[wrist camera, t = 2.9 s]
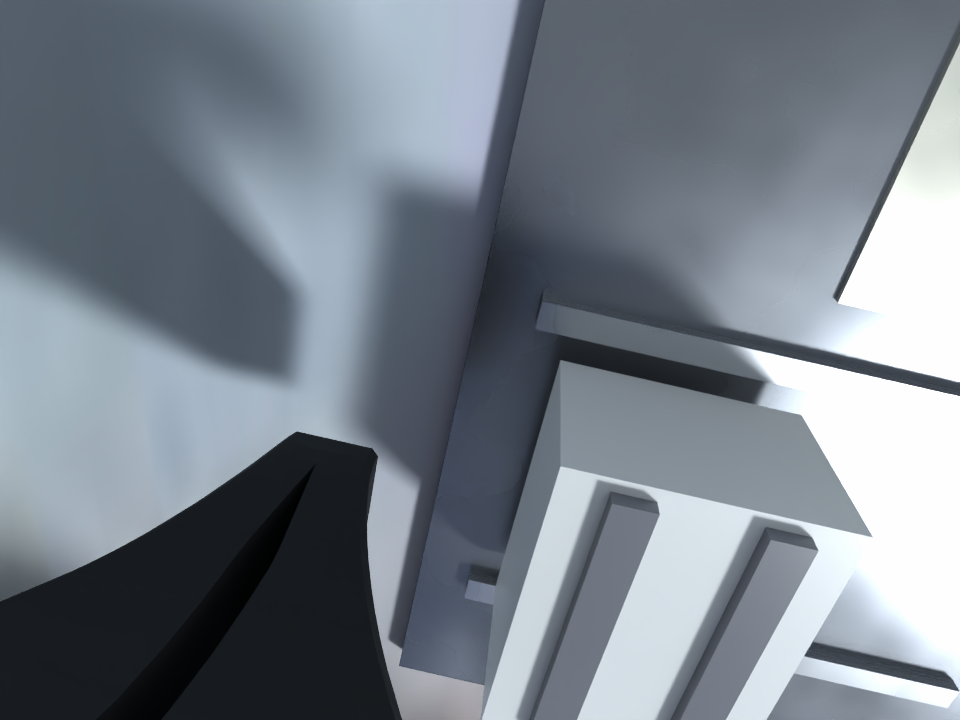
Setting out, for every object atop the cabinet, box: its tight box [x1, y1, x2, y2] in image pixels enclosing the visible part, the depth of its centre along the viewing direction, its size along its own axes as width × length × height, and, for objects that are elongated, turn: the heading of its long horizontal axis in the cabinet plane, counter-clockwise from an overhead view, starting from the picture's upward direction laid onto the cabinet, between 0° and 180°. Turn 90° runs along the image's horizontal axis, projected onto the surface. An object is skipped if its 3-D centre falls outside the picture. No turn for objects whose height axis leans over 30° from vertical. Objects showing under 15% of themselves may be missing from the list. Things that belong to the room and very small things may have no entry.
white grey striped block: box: [481, 360, 873, 720], centre depth 11 cm, size 5×4×3 cm
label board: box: [399, 0, 960, 720], centre depth 12 cm, size 16×12×1 cm
